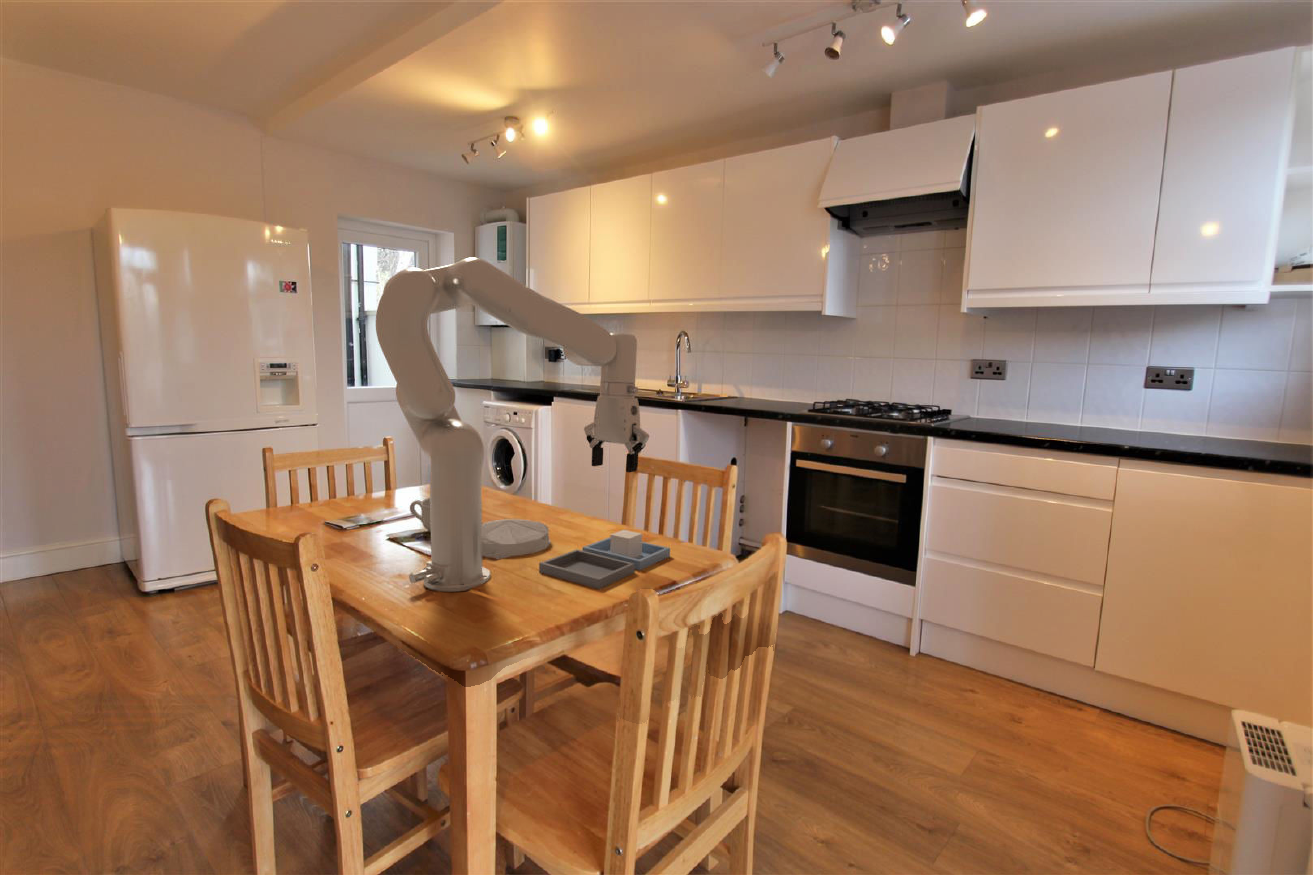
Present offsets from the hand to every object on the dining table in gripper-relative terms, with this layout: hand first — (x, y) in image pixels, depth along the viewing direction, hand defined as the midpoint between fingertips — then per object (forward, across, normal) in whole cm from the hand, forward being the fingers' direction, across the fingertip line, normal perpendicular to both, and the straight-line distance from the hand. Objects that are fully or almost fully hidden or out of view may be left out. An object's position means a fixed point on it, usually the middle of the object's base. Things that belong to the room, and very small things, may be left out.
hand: (613, 468), depth 139 cm
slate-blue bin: (+20, -3, -2) cm, 20 cm away
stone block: (+19, -3, -2) cm, 20 cm away
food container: (+21, +24, +8) cm, 33 cm away
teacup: (+21, +46, +11) cm, 52 cm away
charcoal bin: (+20, -4, +12) cm, 24 cm away
